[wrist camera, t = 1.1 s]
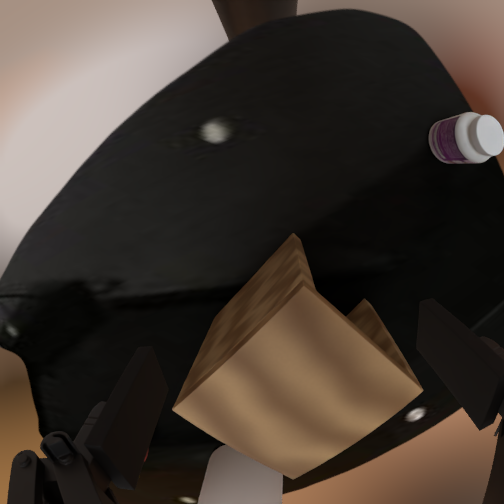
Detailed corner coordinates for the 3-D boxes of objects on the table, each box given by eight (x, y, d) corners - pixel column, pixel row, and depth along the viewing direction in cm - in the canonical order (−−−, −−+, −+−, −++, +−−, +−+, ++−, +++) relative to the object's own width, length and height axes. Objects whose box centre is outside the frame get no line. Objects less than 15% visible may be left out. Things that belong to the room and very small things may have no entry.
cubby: (292, 232, 34) (304, 285, 18) (370, 303, 35) (423, 390, 19) (214, 317, 38) (171, 409, 21) (291, 376, 39) (293, 479, 22)
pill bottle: (442, 172, 31) (488, 173, 21) (419, 133, 30) (461, 122, 21) (469, 150, 30) (516, 147, 20) (447, 113, 29) (491, 99, 20)
